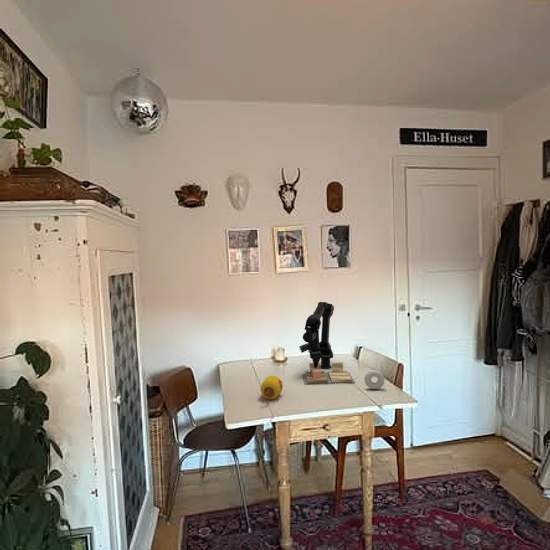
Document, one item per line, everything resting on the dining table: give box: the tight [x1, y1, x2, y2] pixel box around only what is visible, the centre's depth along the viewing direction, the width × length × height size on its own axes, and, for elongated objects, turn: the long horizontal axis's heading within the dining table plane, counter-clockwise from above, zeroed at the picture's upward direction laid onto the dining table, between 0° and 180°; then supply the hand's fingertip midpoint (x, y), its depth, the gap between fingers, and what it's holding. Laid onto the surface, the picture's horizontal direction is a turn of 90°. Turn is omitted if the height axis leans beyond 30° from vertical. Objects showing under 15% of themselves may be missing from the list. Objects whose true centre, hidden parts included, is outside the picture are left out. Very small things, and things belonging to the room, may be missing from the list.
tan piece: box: [327, 361, 352, 382], centre depth 230 cm, size 18×11×6 cm, turn 179°
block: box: [312, 368, 321, 379], centre depth 228 cm, size 4×4×4 cm
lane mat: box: [302, 371, 356, 386], centre depth 232 cm, size 20×27×1 cm
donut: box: [364, 369, 385, 390], centre depth 210 cm, size 10×4×10 cm, turn 81°
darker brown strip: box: [304, 362, 328, 383], centre depth 231 cm, size 18×11×6 cm, turn 179°
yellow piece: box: [260, 375, 284, 400], centre depth 204 cm, size 10×10×30 cm
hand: (314, 365), depth 238 cm, fingers open, 9 cm apart
